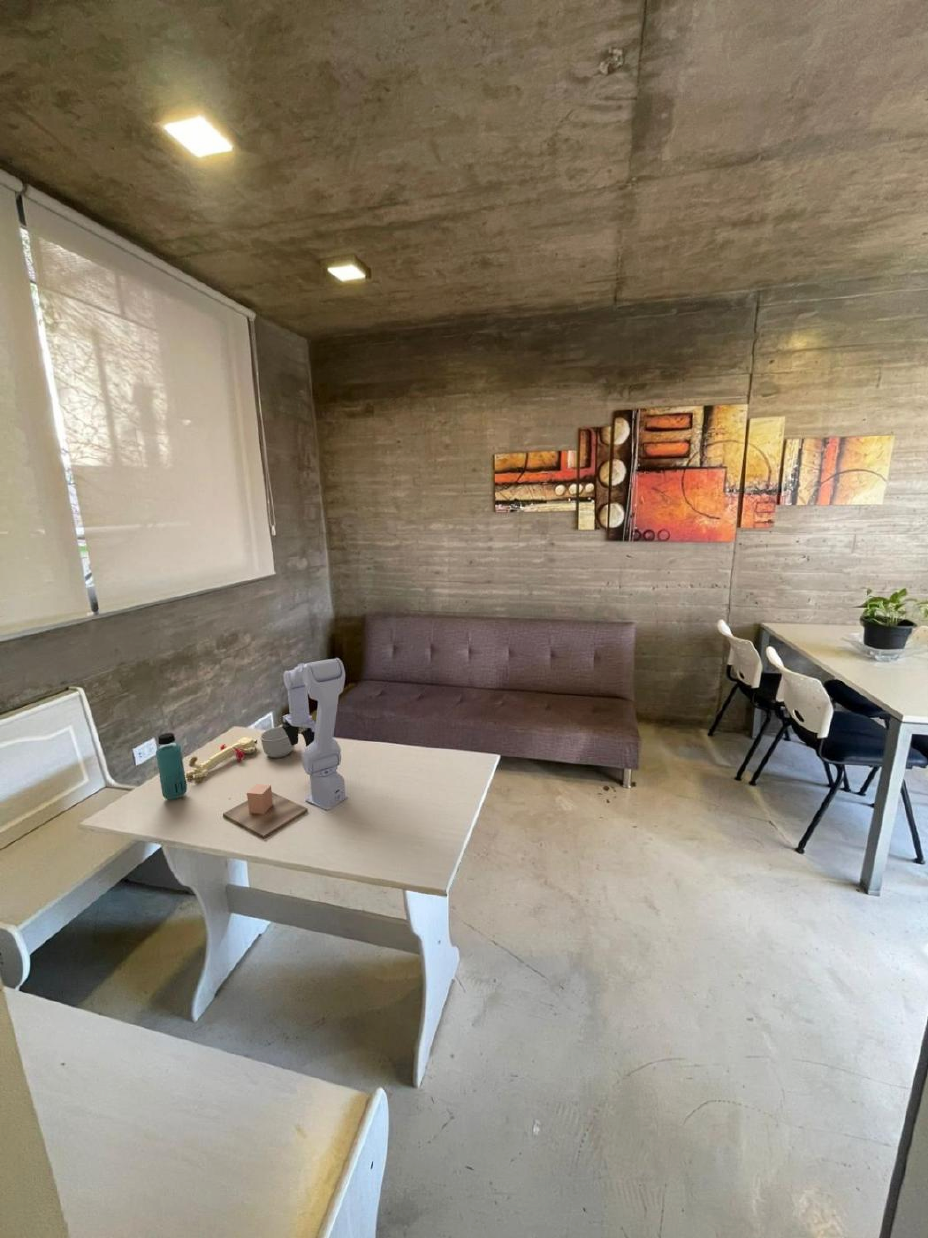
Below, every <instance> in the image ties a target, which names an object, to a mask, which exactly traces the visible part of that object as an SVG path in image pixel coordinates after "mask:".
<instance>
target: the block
mask: <svg viewBox="0 0 928 1238" xmlns="http://www.w3.org/2000/svg"><path fill="white" fill-rule="evenodd" d="M272 792H273V790H272V785H271V784H270V785H269V784H258V783H255V785H254V786H253V787H252V788H251V789H249V790H248V791H247V792H246V796H247V797H246V798H247V800H248V807H249V813H259V814H265V813H266V812H267V811H268V809H269V808H270V807H271V806H272V805H273V800H272Z"/></svg>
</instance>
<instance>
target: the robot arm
mask: <svg viewBox="0 0 928 1238" xmlns="http://www.w3.org/2000/svg"><path fill="white" fill-rule="evenodd" d="M343 663H344V662H343V661H342V659H340V658H339V657H335V658H330V659H324V660H317V661H312V662H307V663H304V662H302V663H298V664H297V666H295V667H294V668H293V669H291V670H285V671H284V673H283V683H284V686H285V688H286V690H287V698H288V699H287V700H288V709H289V711H288V712H289V714H285V715H282V722H283V723H284V724H281V725H282V728H283V729H284V731H285V732H286V734H287V736H288V738H289V741H290V743H291V745H292V746H293V745H294V746H296V745H298V744H299V728H305V730H303V731H302V732H301V735H302V737H303V739H304V743H305V748H304V751H303V754H302V756H301V763H302V768H303V770H304V773H305V774H306V775H309V781H310V782H309V783H310V791H311V795H309V796H307V797H306V798H304V800H305V802H307V803H309V804H311V805H314V806H315V807H318V808H321V809H323V810H325V811H329V810H330V809H332V808H334V807H335V806H336V805H338V804H340V803H341V802H343V801H344V800H345V799H347V798H348V796H349V795H347V794H346V787H345V778H344V777H343V776H342V775H341V774H340V773H338V771H337V770H339V769H338V766H340V765H341V762H342V753H341V751H342V748H341V747H340V745H339V743H338V741H337V740H336V739H335V738H334V733H335V726H336V719H337V711H338V705H339V704H338V703H339V696H340V695H341V694H342V693H343V691H344V687H345V682H346V681H345V680H346V671H345V668H344V667H345V666H344V664H343ZM309 698H310V699H311V700H314V701H317V708H316V709H317V710H316V716H315V717H316V718H315V719H316V720H313V716H312V715H310V707H309V706H310V705H309Z"/></svg>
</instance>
